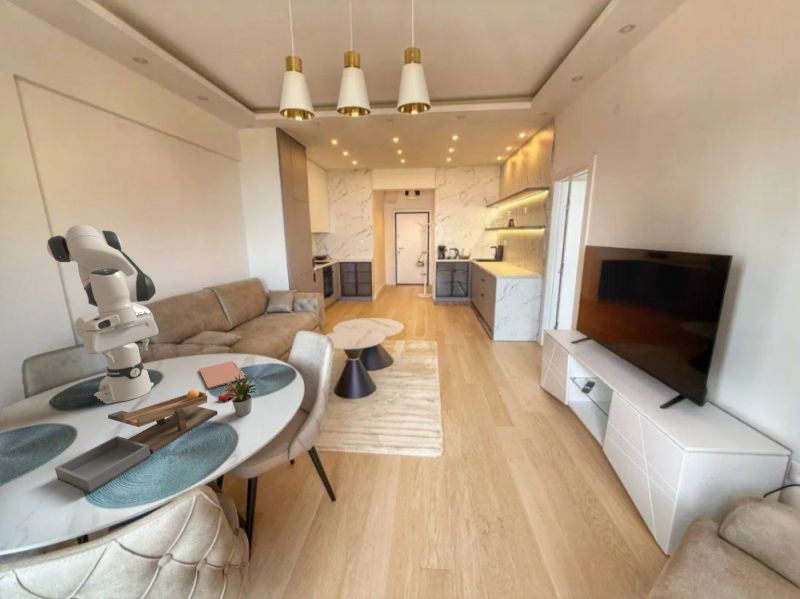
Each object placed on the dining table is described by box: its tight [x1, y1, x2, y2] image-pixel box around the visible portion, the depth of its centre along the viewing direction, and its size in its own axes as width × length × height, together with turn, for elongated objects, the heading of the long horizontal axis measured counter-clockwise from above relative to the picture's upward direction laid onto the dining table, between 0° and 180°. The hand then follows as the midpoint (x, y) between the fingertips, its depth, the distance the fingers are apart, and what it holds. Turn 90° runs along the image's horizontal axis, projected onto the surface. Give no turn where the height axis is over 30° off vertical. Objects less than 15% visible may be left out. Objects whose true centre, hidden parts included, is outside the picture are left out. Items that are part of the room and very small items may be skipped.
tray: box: [54, 435, 152, 495], centre depth 97 cm, size 16×16×4 cm
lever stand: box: [128, 406, 219, 454], centre depth 116 cm, size 14×24×9 cm, turn 160°
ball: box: [186, 389, 200, 400], centre depth 123 cm, size 4×4×4 cm
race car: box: [218, 382, 242, 402], centre depth 140 cm, size 13×5×4 cm, turn 158°
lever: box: [107, 390, 208, 428], centre depth 115 cm, size 16×24×4 cm, turn 160°
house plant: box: [218, 371, 260, 417], centre depth 123 cm, size 14×14×16 cm
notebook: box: [198, 360, 246, 390], centre depth 161 cm, size 27×17×2 cm, turn 39°
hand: (129, 356), depth 108 cm, fingers open, 8 cm apart
